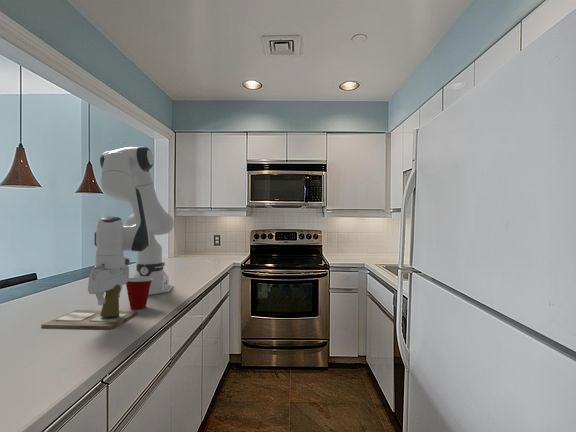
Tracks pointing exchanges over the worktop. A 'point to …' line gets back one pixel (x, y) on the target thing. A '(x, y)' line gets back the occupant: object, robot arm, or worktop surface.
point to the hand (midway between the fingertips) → (109, 301)
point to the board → (89, 320)
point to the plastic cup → (138, 292)
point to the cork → (111, 302)
